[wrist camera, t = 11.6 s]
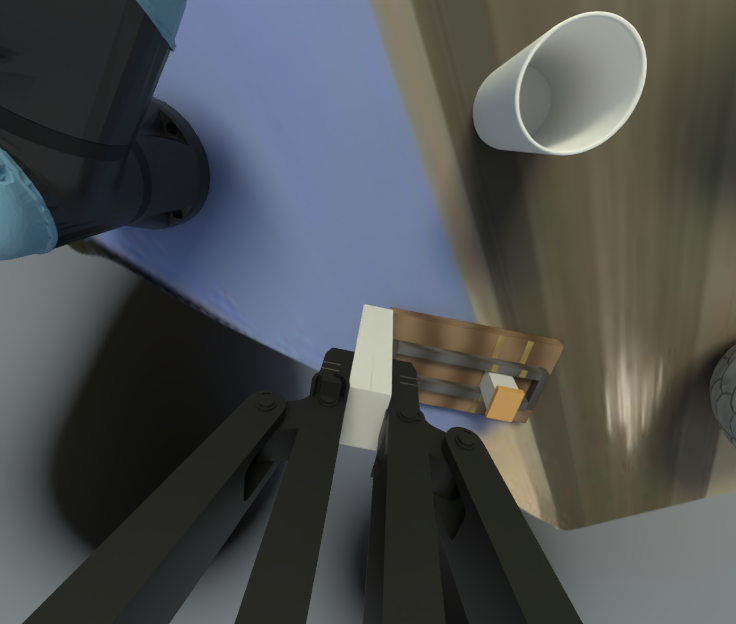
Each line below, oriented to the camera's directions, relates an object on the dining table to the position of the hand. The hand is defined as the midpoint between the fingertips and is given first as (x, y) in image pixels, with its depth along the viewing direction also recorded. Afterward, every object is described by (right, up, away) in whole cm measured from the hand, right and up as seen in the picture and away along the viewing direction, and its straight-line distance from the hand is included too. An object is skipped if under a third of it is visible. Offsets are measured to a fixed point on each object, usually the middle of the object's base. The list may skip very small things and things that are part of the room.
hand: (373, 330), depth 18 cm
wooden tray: (+13, -7, +34) cm, 38 cm away
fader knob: (+18, -9, +32) cm, 38 cm away
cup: (+15, +23, +20) cm, 34 cm away
